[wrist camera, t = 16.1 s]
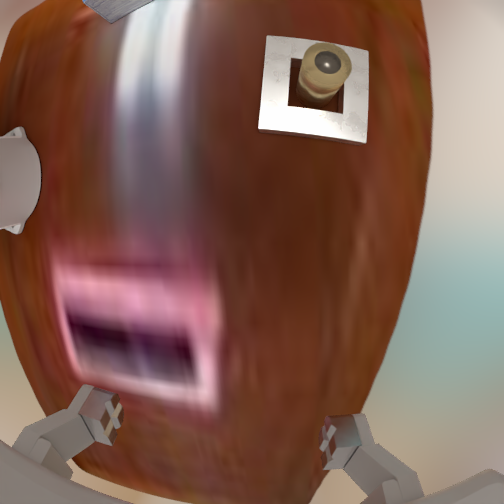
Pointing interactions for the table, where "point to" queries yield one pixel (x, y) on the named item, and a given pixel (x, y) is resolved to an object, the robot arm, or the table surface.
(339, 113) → the aluminium jig
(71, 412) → the robot arm
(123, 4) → the medicine box
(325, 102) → the brass bushing
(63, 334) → the table surface
